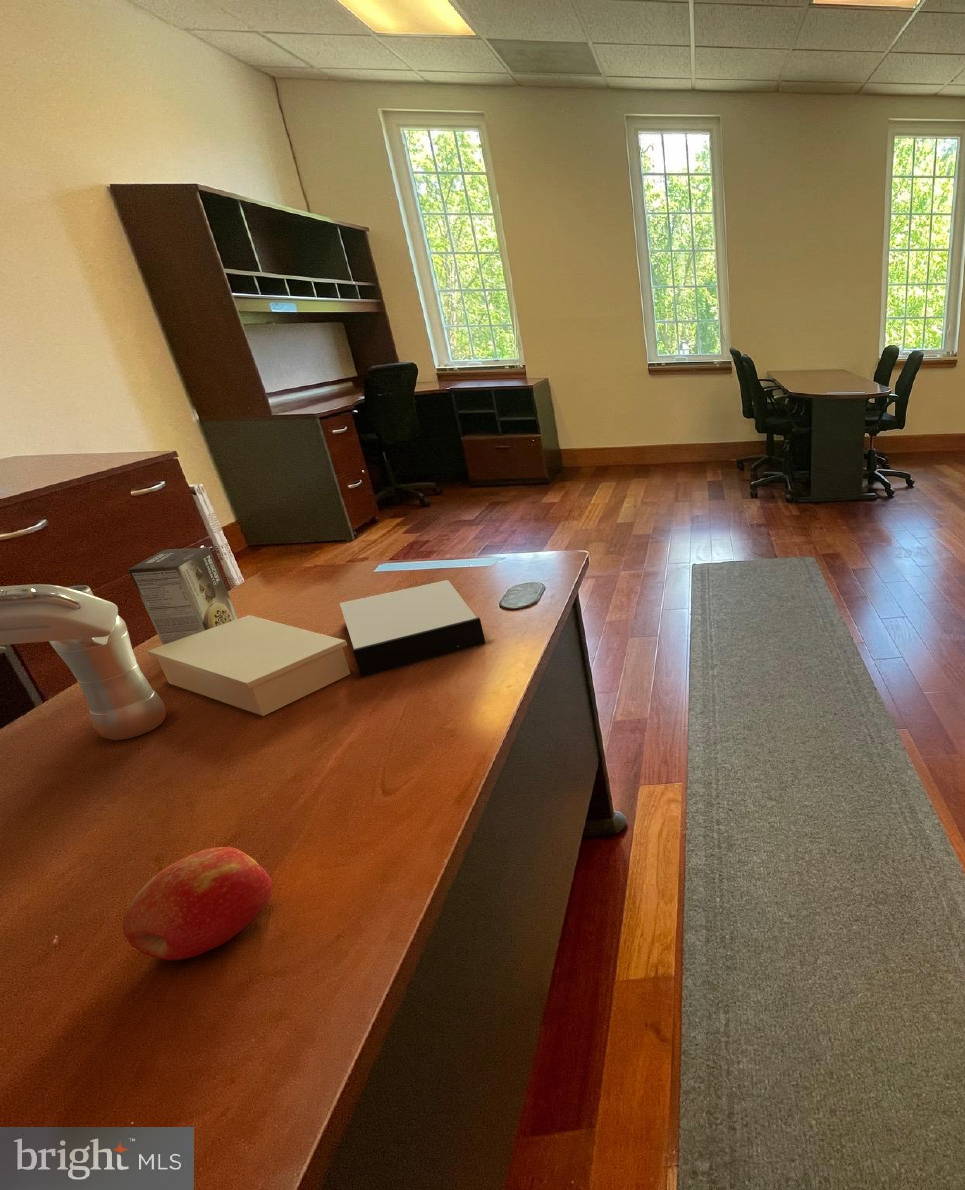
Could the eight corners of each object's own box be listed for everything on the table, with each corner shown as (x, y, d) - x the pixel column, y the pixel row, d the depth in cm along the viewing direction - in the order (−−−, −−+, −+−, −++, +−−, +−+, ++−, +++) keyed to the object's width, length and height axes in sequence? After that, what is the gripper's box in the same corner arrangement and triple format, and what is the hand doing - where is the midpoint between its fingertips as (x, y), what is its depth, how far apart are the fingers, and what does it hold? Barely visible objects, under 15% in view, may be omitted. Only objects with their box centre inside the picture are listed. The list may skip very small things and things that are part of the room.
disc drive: (361, 679, 92) (352, 650, 90) (345, 627, 108) (337, 601, 106) (486, 645, 102) (480, 618, 100) (454, 602, 118) (448, 578, 116)
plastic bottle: (88, 750, 76) (6, 605, 68) (126, 720, 82) (55, 583, 74) (151, 742, 78) (78, 599, 70) (184, 713, 84) (120, 578, 76)
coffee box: (200, 638, 103) (162, 549, 97) (246, 633, 105) (211, 545, 99) (168, 664, 95) (124, 568, 89) (218, 658, 97) (178, 564, 91)
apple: (297, 913, 55) (267, 848, 52) (182, 998, 48) (140, 928, 45) (245, 883, 58) (214, 819, 55) (130, 960, 51) (86, 891, 48)
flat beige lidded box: (163, 686, 90) (146, 650, 87) (261, 647, 101) (249, 614, 98) (262, 721, 82) (246, 683, 80) (356, 675, 93) (345, 640, 91)
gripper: (55, 560, 60) (164, 609, 73) (-220, 576, 56) (-53, 625, 68) (37, 620, 58) (153, 660, 70) (-250, 642, 53) (-72, 680, 66)
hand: (50, 643), depth 69 cm, fingers open, 8 cm apart
